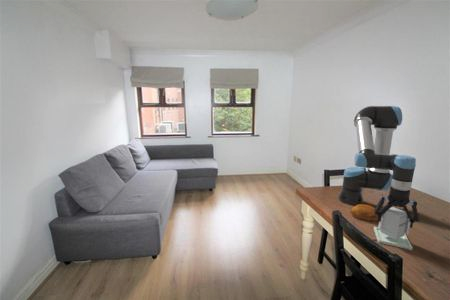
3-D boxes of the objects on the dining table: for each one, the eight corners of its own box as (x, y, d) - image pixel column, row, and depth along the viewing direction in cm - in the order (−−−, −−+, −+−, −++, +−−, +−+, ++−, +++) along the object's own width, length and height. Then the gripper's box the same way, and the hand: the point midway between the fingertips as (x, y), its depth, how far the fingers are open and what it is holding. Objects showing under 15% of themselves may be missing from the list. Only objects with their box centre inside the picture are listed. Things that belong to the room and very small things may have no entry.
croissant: (380, 228, 121) (385, 216, 119) (349, 217, 128) (353, 206, 126) (378, 216, 133) (382, 205, 131) (349, 207, 140) (353, 196, 138)
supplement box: (395, 240, 103) (400, 216, 100) (379, 232, 109) (383, 209, 107) (405, 236, 106) (409, 212, 103) (388, 228, 112) (392, 206, 110)
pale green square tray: (373, 228, 117) (373, 226, 116) (403, 234, 111) (404, 232, 111) (378, 242, 105) (378, 240, 105) (412, 250, 100) (412, 247, 99)
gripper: (373, 186, 104) (367, 228, 109) (434, 195, 94) (425, 240, 99) (370, 181, 111) (365, 221, 115) (427, 189, 101) (419, 231, 106)
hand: (392, 230), depth 107 cm, fingers closed on supplement box, 10 cm apart
